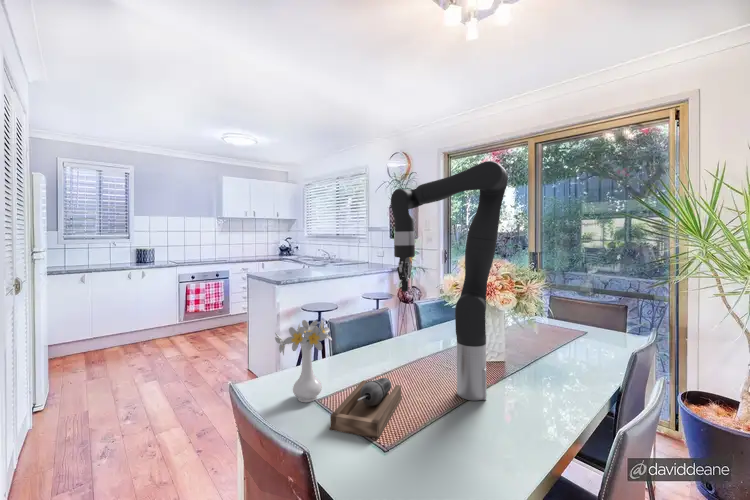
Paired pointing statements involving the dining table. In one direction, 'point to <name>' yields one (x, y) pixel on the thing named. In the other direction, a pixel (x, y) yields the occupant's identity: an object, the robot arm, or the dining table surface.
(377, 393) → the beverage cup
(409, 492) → the dining table surface
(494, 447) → the dining table surface
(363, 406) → the u rest
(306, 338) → the flower vase
